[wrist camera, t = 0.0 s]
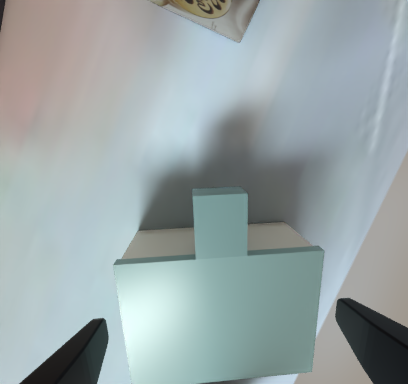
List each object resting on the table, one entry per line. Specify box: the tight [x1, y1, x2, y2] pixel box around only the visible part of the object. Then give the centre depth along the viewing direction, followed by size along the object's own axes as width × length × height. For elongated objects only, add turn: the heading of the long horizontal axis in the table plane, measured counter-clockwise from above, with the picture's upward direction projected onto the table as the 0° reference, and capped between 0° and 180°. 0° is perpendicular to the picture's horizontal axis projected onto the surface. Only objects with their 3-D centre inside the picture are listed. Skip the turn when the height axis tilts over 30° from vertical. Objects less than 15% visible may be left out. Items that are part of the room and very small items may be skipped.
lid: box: [113, 186, 324, 384], centre depth 18 cm, size 17×16×2 cm
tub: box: [122, 222, 313, 259], centre depth 21 cm, size 12×16×6 cm
